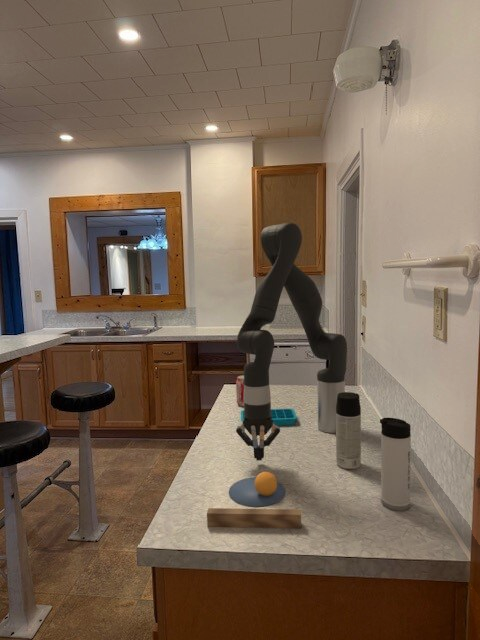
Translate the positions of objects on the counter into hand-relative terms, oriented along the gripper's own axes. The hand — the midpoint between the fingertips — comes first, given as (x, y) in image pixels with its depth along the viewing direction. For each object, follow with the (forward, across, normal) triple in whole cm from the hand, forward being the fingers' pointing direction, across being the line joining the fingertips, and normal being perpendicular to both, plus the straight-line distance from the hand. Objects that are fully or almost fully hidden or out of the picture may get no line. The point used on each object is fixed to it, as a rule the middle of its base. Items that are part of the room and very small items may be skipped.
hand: (259, 459), depth 118 cm
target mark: (+2, 0, +15) cm, 15 cm away
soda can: (+2, +8, -56) cm, 57 cm away
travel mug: (+2, -32, +20) cm, 38 cm away
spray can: (+2, -25, 0) cm, 25 cm away
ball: (-1, -2, +16) cm, 17 cm away
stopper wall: (+2, 0, +29) cm, 29 cm away
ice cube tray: (+2, -2, -36) cm, 36 cm away
